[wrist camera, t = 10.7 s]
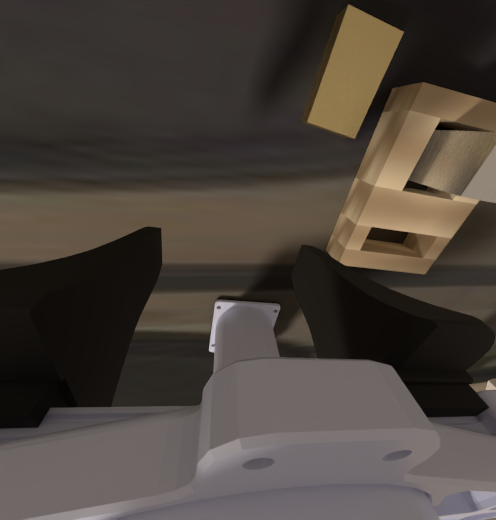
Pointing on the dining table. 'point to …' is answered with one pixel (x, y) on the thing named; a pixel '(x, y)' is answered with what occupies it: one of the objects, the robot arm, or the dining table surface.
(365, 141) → the dining table surface
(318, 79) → the tan rectangular block
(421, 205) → the socket block
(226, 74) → the dining table surface
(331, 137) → the dining table surface
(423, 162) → the square bit
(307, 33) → the dining table surface
